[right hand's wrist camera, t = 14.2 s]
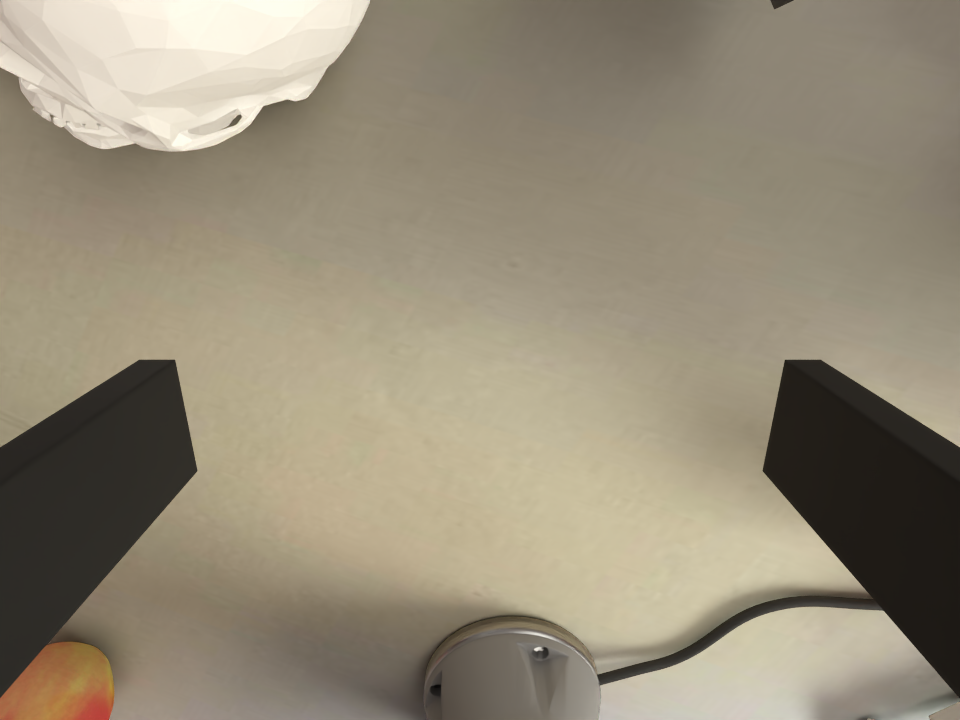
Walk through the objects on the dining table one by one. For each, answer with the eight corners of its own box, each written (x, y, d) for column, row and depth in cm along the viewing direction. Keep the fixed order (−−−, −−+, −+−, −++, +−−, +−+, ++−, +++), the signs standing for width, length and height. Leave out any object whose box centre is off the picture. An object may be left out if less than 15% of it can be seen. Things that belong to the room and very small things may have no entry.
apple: (160, 684, 51) (88, 806, 41) (66, 707, 52) (-26, 832, 42) (105, 603, 47) (12, 715, 38) (5, 629, 48) (-109, 745, 39)
